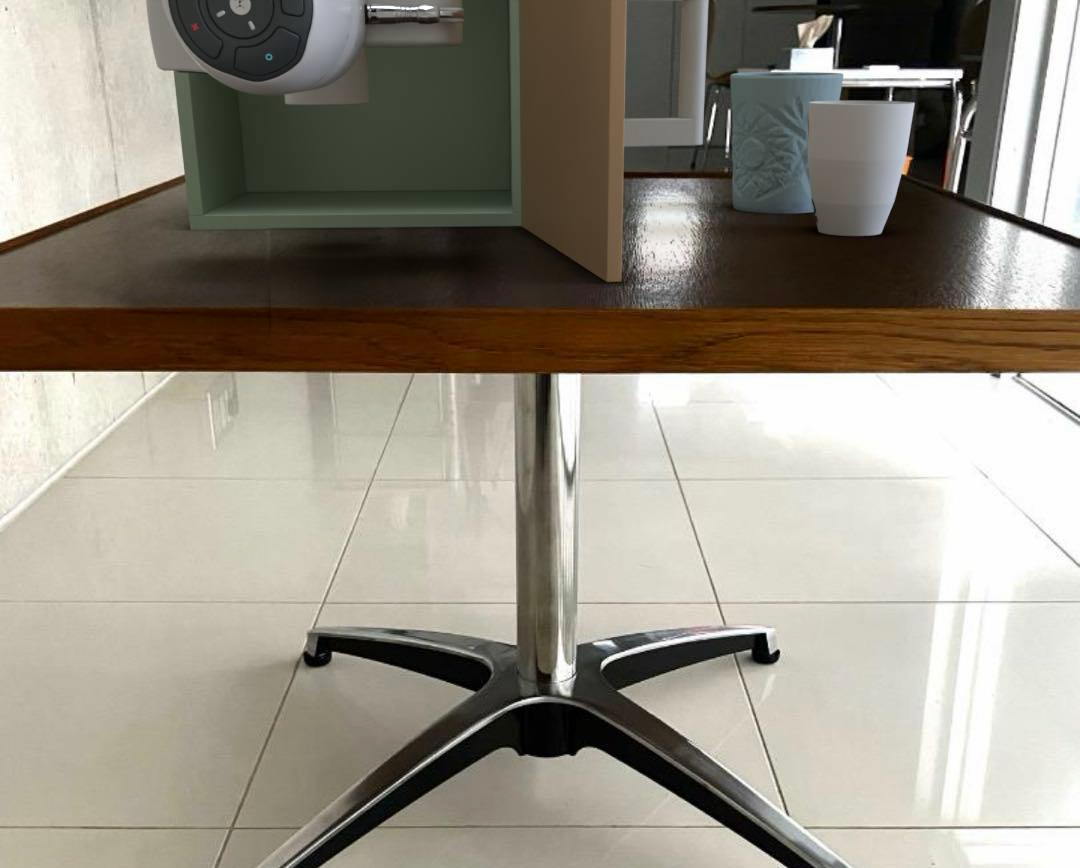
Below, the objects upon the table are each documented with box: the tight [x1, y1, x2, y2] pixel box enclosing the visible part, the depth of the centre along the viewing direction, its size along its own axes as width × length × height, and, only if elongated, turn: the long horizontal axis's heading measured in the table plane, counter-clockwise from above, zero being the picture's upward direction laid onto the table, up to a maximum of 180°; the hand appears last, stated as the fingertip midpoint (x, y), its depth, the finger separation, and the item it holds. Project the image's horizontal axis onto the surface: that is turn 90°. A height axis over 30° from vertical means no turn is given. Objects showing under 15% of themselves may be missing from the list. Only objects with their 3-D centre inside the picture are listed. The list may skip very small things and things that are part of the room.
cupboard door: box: [519, 0, 710, 283], centre depth 86 cm, size 7×28×26 cm, turn 12°
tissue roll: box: [285, 48, 369, 105], centre depth 86 cm, size 6×6×10 cm
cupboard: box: [173, 0, 522, 231], centre depth 108 cm, size 20×28×26 cm
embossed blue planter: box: [729, 71, 844, 214], centre depth 113 cm, size 10×10×12 cm
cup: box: [808, 100, 916, 237], centre depth 98 cm, size 8×8×10 cm
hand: (323, 20), depth 87 cm, fingers closed on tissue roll, 6 cm apart
